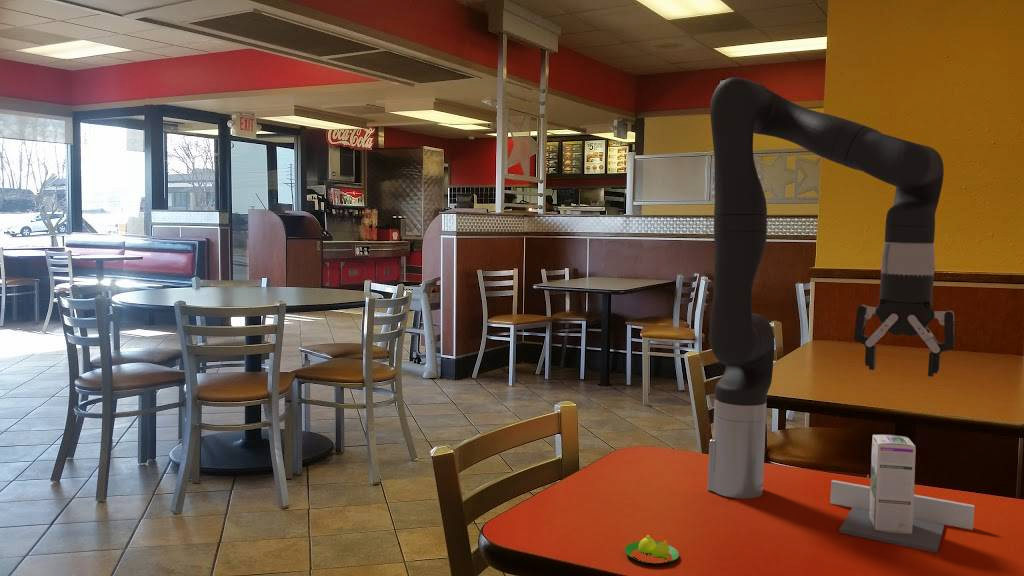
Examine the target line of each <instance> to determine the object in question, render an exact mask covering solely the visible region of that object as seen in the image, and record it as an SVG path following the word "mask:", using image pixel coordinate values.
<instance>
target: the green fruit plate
mask: <svg viewBox="0 0 1024 576" xmlns="http://www.w3.org/2000/svg"><path fill="white" fill-rule="evenodd" d="M635 549H636V550H639V551H641V553H642V552H643V554H644V553H645V554H646V556H647V555H648V554H650V555H651V554H652V555H654V556H655V557H657V558H664V559H665V560H666V559H668V558H669V557H668V553H670V555H672V556H671V557H672V559H671V560H670V561H669V562H665V563H664V564H666V563H670V562H674V561H675V560H677V559H678V558H679V556H680V553H679V551H678V550H677V549H676V548H675V547H674V546H672V545H669V543H668V541H667V540H666V539H665V540H663V541H660V542H659V541H655V540H654V539H653V537H651V535H648V534H647V535H646V536H645V537H644V538H642V539H641V540H640V541H634V542H632V543H629V544H627V545H626V546H625V547H624V552H625V554H626V555H628V556H629V557H631V559H633V560H634V559H635V558H633V557H632V556H631V553H632V551H633V550H635ZM636 550H635V551H636ZM637 552H638V551H637ZM641 553H640V554H641ZM650 555H649V556H650ZM655 557H654V558H655ZM635 560H636V561H639V562H641V563H645V564H649V563H650V562H644V561H640V560H637V559H635ZM650 565H662V563H651V564H650Z"/></svg>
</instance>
